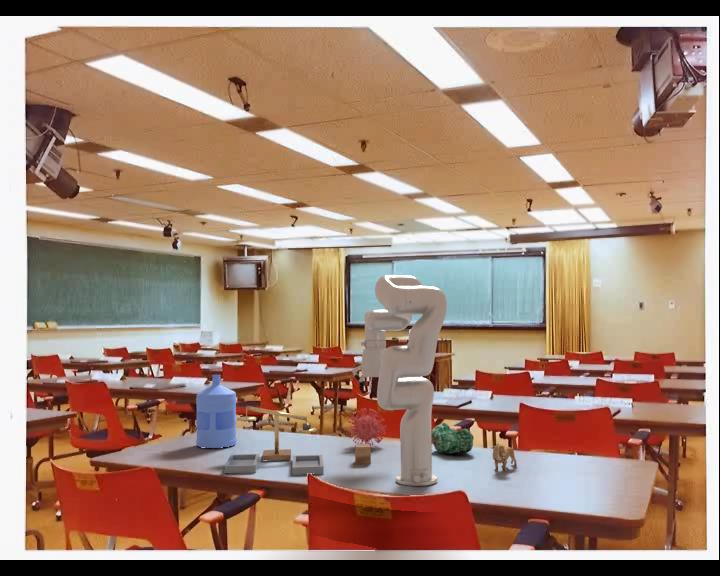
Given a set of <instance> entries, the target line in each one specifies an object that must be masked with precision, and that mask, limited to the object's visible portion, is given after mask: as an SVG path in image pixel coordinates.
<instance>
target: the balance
mask: <svg viewBox="0 0 720 576" xmlns="http://www.w3.org/2000/svg"><path fill="white" fill-rule="evenodd" d="M248 411H252V412H257V413H263V414H267V415H273V416H274V449H264V450H263V452H262V453H261V454H262V455H261V461H262V460H291V459H292V449H291V448H290V449H288V448H287V449H286V448H285V449H280V417H285V418H288V419H294V420H301V421H305V422H304V423H303V422H302V427H300V428H297V429H296V432H297V433H307V434H308V433H315V432H317V428H316V427H312V423H310V422H308V417H307V416H303V415H299V414H293V413H287V412H283V411H282V412H281V411H279V410H278V409H276V410H275V409H274V410H271V409H268V408H267V409H266V408H262V407H261V408H260V407H256V406H251V405H246V407H245V416H240V417H236V422H251V421H252V422H253V421H256V420H257V417H256V416H248Z"/></svg>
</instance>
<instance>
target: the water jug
mask: <svg viewBox="0 0 720 576" xmlns="http://www.w3.org/2000/svg"><path fill="white" fill-rule="evenodd" d="M211 380H212V384H211V385H210V386H208V387H207V388H204V389H203V390H201V391H199V392H197V393H196V398H195V401H196V402H195V404H196V419H195V422H196V424H195V425H196V441H195V443H196V446H199V447H205V448H221V447H228V446H232V447H234V446H236V444H237V405H236V404H237V392H236V391H234V390H232V389H231V388H227V387H226V386H224V385H222V384H221V374H212V379H211ZM233 445H234V446H233ZM199 447H198V448H199ZM228 448H229V447H228Z"/></svg>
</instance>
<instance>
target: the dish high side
mask: <svg viewBox="0 0 720 576" xmlns="http://www.w3.org/2000/svg"><path fill="white" fill-rule="evenodd" d="M258 463H259V464H260V453H244V454H242V453H241V454H240V453H239V454H238V453H237V454H230V455H229V458H228V459H227V461H226V463H225V465H224V474H225V473H239V474H256V473H257V470H258V466H259V464H258Z"/></svg>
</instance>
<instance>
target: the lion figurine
mask: <svg viewBox="0 0 720 576" xmlns="http://www.w3.org/2000/svg"><path fill="white" fill-rule="evenodd" d="M509 457H510V458H511V461H510V464H513V465H512V467H514V468H517V459H516V457H515V450H514V449H513V448H512V447H510V446H507V447H505V446H504V445H502V444H496V445H495V446H494V447H493V449H492V459H493V461H494V466H495V469H494V471H495V472H499V464H502V465H501V468H502V469H501V470H502V472H503V473H507V470H506V469H507V468H506V467H507V465H508V460H509Z"/></svg>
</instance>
